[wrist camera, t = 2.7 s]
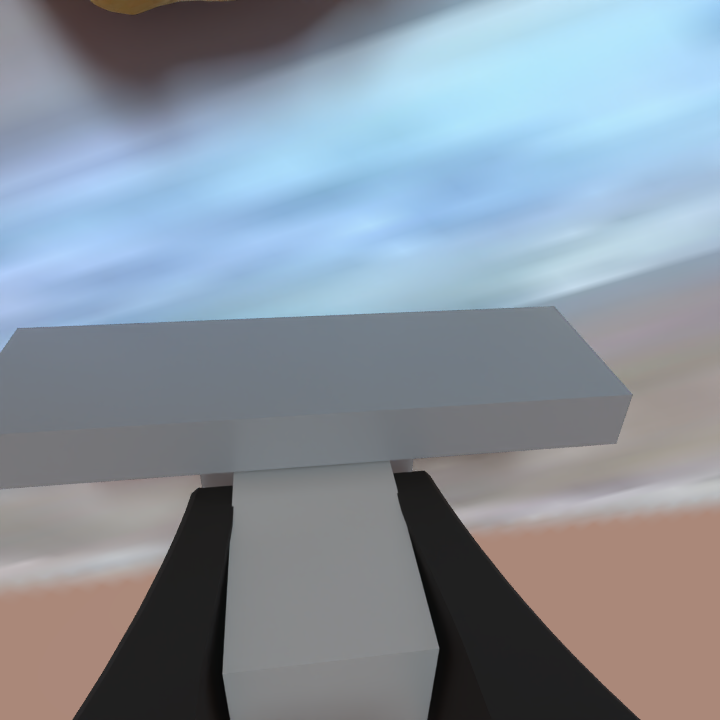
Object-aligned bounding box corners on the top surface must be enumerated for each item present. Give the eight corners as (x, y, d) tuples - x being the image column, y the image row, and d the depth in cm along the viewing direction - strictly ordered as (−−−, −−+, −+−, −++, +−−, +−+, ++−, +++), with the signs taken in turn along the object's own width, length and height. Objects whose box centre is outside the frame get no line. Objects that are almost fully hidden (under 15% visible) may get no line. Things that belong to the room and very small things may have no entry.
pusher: (554, 306, 12) (768, 547, 7) (519, 458, 14) (663, 726, 9) (17, 328, 11) (-205, 647, 6) (70, 492, 13) (-54, 828, 8)
